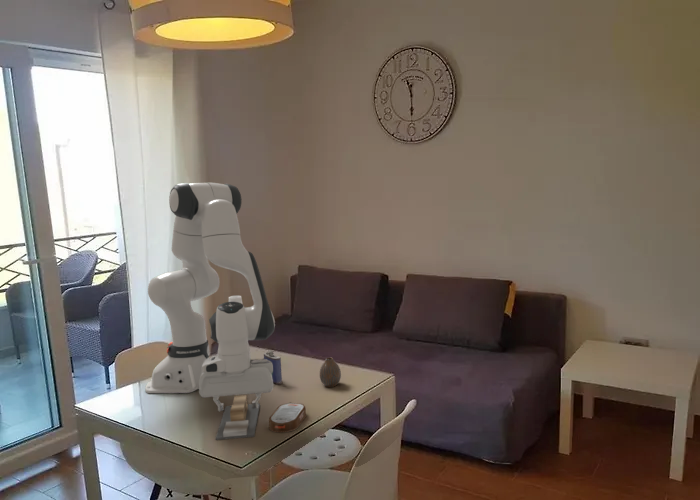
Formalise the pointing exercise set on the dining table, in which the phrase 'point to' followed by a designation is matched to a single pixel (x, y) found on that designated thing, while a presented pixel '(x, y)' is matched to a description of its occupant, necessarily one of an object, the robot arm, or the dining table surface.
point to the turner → (237, 418)
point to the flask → (275, 366)
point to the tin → (287, 417)
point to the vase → (330, 373)
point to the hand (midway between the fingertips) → (238, 409)
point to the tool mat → (250, 416)
